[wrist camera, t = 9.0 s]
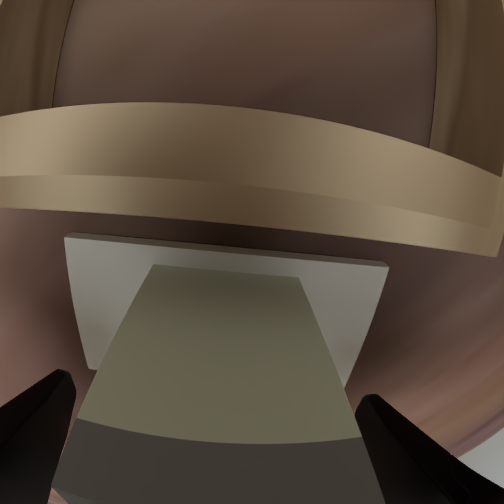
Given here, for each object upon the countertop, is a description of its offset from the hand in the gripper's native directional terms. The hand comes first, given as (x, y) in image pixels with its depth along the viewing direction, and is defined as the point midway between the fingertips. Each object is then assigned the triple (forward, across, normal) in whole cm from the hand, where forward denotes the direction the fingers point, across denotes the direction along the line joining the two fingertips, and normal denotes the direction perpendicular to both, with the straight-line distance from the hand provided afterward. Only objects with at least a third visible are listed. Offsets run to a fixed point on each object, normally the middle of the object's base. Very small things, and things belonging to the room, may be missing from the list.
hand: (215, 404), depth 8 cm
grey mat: (+4, 0, 0) cm, 4 cm away
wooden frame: (+4, 0, -12) cm, 13 cm away
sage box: (+4, 0, 0) cm, 4 cm away
